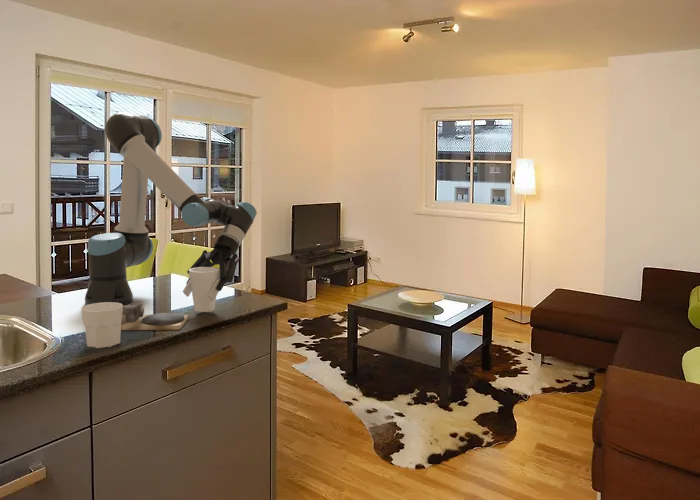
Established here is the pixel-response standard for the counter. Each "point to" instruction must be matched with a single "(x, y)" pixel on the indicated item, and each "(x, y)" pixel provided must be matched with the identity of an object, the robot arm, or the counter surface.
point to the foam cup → (203, 287)
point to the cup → (102, 323)
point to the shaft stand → (150, 319)
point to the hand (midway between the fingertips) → (198, 296)
